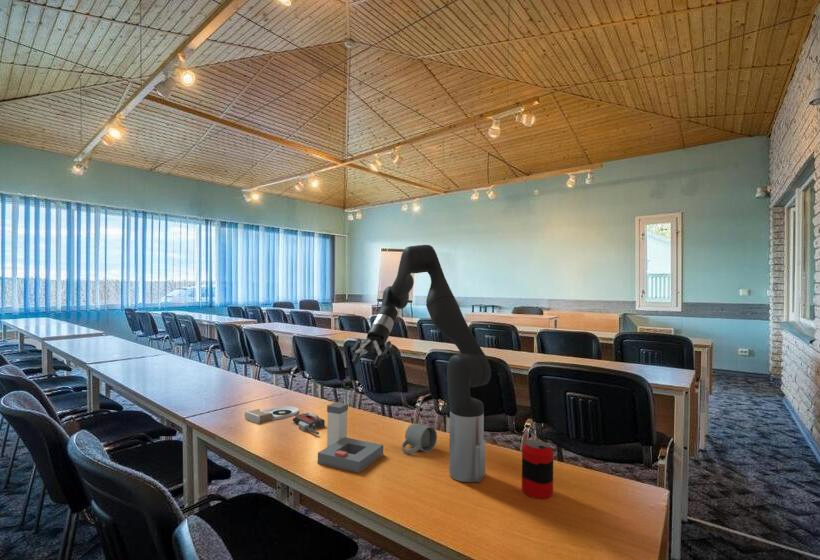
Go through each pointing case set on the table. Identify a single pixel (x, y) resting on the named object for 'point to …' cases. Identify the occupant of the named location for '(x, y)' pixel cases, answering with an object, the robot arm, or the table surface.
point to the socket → (355, 461)
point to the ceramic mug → (420, 438)
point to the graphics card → (271, 414)
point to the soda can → (537, 469)
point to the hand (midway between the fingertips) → (364, 365)
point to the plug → (336, 422)
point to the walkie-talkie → (309, 422)
